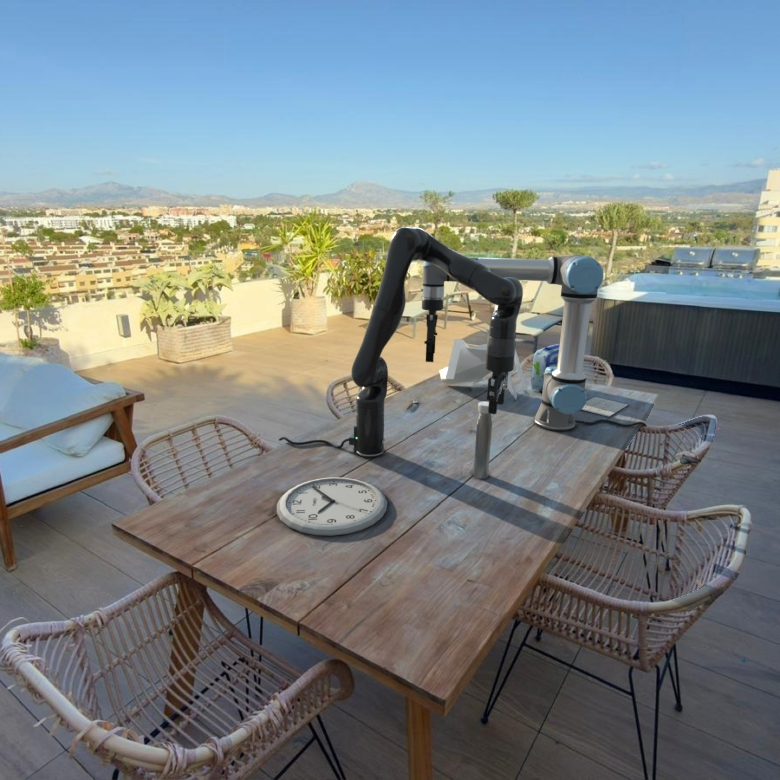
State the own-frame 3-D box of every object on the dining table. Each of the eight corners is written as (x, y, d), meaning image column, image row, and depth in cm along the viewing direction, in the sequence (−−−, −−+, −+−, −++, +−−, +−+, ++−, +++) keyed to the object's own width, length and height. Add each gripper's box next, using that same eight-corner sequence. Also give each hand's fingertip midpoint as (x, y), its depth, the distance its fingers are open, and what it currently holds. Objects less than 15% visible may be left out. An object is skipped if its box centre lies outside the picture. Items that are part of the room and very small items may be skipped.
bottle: (488, 473, 163) (494, 403, 156) (487, 479, 159) (493, 408, 152) (474, 471, 164) (478, 401, 157) (472, 477, 160) (477, 406, 153)
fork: (403, 410, 217) (403, 406, 216) (415, 399, 231) (415, 395, 231) (409, 411, 216) (409, 406, 215) (420, 400, 230) (420, 395, 230)
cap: (493, 409, 157) (494, 402, 156) (492, 414, 153) (493, 406, 152) (478, 407, 158) (479, 400, 157) (477, 412, 154) (477, 405, 153)
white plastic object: (461, 429, 252) (437, 405, 227) (444, 352, 274) (420, 323, 250) (535, 404, 240) (518, 377, 215) (510, 326, 262) (492, 293, 237)
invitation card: (608, 416, 214) (573, 407, 224) (608, 416, 214) (573, 408, 224) (628, 404, 229) (594, 396, 238) (628, 405, 229) (594, 397, 238)
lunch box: (547, 396, 238) (552, 351, 232) (526, 391, 246) (531, 347, 239) (574, 385, 256) (579, 343, 250) (554, 380, 263) (559, 340, 257)
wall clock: (392, 527, 129) (268, 531, 127) (391, 533, 130) (269, 537, 127) (383, 473, 158) (282, 475, 155) (383, 478, 158) (282, 480, 156)
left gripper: (493, 346, 150) (489, 399, 154) (480, 356, 137) (476, 414, 142) (519, 348, 147) (514, 403, 151) (508, 359, 134) (503, 419, 139)
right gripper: (424, 293, 195) (422, 349, 202) (419, 302, 172) (417, 365, 178) (444, 294, 195) (441, 350, 201) (442, 303, 171) (439, 366, 177)
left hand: (495, 408), depth 147 cm, fingers open, 8 cm apart
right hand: (430, 357), depth 190 cm, fingers open, 13 cm apart
